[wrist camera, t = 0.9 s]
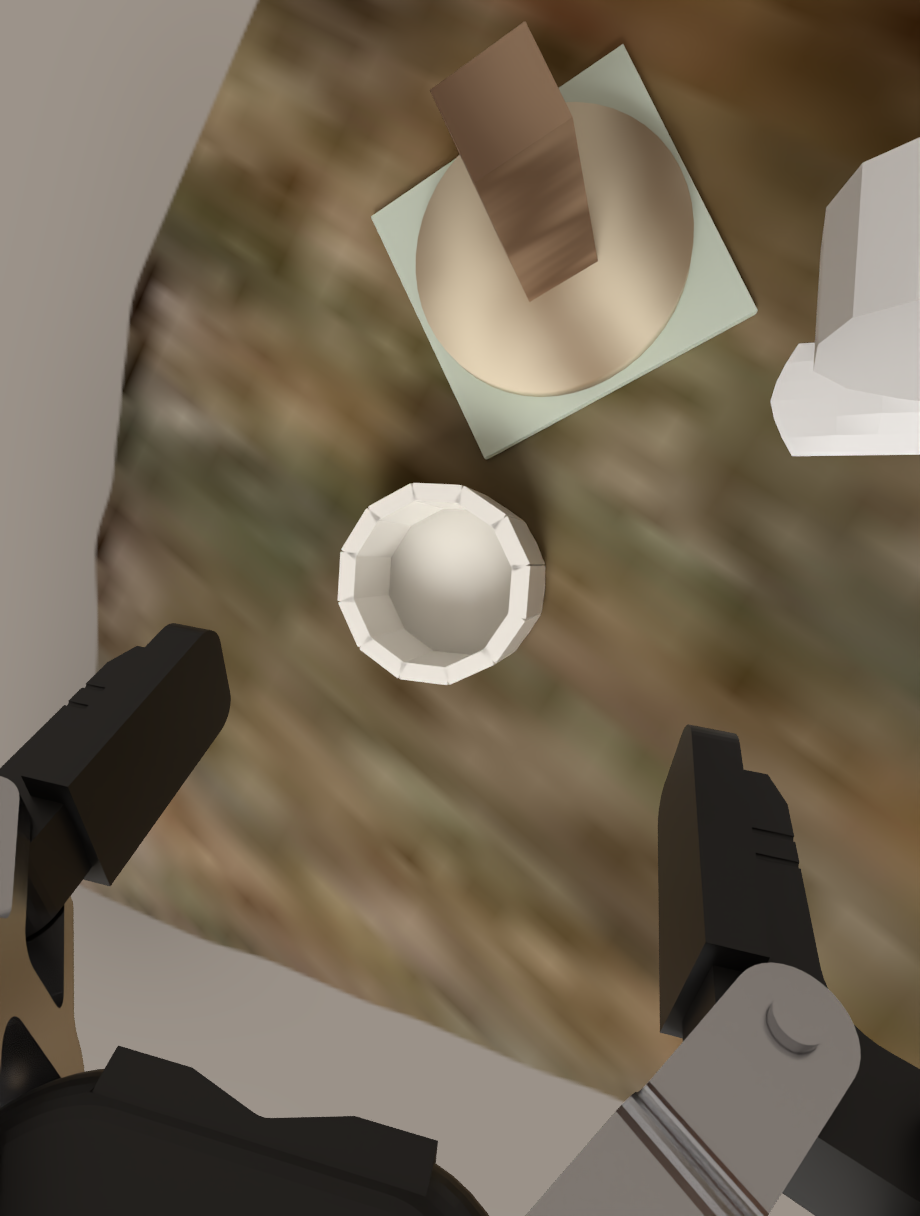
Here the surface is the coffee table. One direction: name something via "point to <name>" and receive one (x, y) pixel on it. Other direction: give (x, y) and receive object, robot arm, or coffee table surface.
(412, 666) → the bowl
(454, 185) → the lid
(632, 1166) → the robot arm
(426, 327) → the mat
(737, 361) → the coffee table surface
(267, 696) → the coffee table surface
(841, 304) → the heart sculpture
